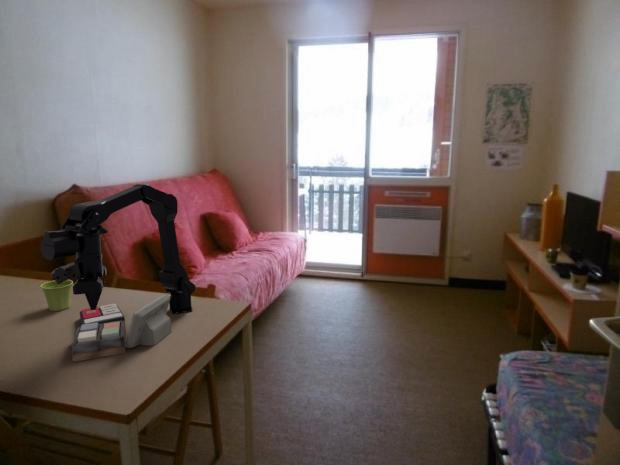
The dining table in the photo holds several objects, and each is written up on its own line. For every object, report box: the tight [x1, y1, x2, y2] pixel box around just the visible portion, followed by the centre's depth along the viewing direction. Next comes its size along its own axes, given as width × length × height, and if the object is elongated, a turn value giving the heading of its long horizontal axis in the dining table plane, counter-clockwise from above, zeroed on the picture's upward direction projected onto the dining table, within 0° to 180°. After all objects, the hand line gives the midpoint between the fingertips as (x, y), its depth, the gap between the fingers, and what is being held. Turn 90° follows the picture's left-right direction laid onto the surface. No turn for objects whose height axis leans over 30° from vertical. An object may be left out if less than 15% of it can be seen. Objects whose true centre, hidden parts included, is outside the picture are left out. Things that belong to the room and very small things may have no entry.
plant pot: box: [40, 279, 74, 312], centre depth 137 cm, size 9×9×9 cm
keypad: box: [71, 320, 127, 362], centre depth 110 cm, size 12×14×4 cm
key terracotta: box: [103, 322, 120, 329], centre depth 113 cm, size 4×4×2 cm
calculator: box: [79, 303, 126, 326], centre depth 125 cm, size 11×4×15 cm
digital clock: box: [125, 294, 172, 349], centre depth 114 cm, size 16×9×11 cm, turn 157°
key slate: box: [80, 322, 99, 332], centre depth 111 cm, size 4×4×2 cm
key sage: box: [102, 327, 120, 339], centre depth 108 cm, size 4×4×2 cm
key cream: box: [78, 330, 97, 343], centre depth 106 cm, size 4×4×2 cm
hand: (93, 309), depth 107 cm, fingers closed
